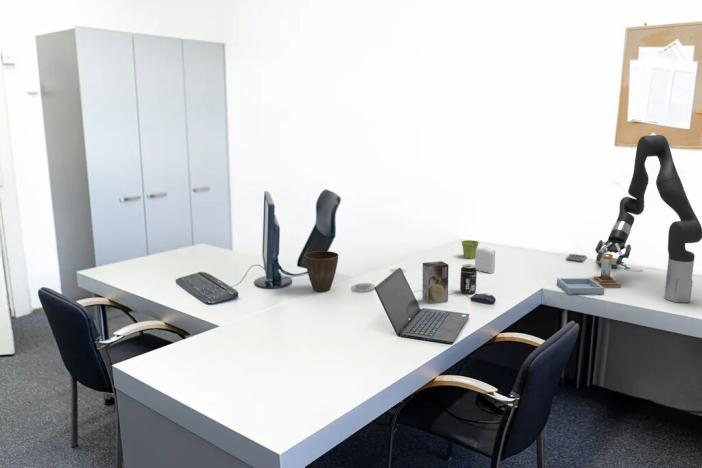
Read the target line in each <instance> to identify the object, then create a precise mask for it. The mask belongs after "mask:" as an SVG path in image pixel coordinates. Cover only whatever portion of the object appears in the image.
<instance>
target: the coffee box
mask: <svg viewBox="0 0 702 468" xmlns="http://www.w3.org/2000/svg"><path fill="white" fill-rule="evenodd" d="M421 290H422V291H421V292H422V296H421V297H422V298H421V299H422V300H423V301H424V302H426V303H427V304H437V303H446V302H447V303H448V301H449V264H448V263H446V262H444V261H442V260H441V261H429V262H422V289H421Z"/></svg>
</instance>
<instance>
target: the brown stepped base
mask: <svg viewBox="0 0 702 468" xmlns="http://www.w3.org/2000/svg"><path fill="white" fill-rule="evenodd" d="M600 276H601V275H595V276H591V277H588V278H591V279H592V280H594V281H595V282H597V283H598V284H599V285H601V286H602V287H604V288H605V289H621V288H622V287H621V286H622V283H621V282H619V281H618V280H616V279H614V278H613V277H611V276H610V280H601V279H600Z"/></svg>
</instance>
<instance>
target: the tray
mask: <svg viewBox="0 0 702 468" xmlns="http://www.w3.org/2000/svg"><path fill="white" fill-rule="evenodd" d="M556 279H557V280H556V286H558V287H559V288H560V289H561V290H562V291H564V292H565V293H566V294H567V295H568V296H585V295H584V294H604V295H605V290H606V288H604V287H602V286H601V285H599V284H598V283H597V282H595V281H594V280H592V279H591V278H589V277H579V278H578V277H571V278H570V277H568V278H567V277H565V278H564V277H561V278H559V277H558V278H556Z"/></svg>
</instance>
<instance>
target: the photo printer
mask: <svg viewBox="0 0 702 468" xmlns="http://www.w3.org/2000/svg"><path fill="white" fill-rule="evenodd" d="M474 265H475V268H476V269H477V271H479V272H483V273H484V272H485V273H489V274H493V273H494V272H495V271H496V270H495V267H496V251H495V249H493V248H492V247H489V246H487V245H486V246H483V245H482V246H481V245H480V246H477V248H476V254H475V258H474Z"/></svg>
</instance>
